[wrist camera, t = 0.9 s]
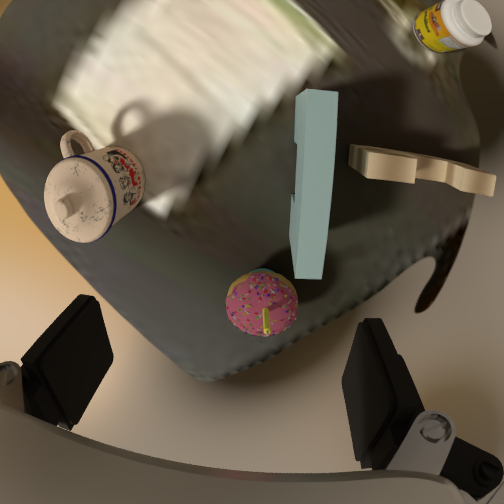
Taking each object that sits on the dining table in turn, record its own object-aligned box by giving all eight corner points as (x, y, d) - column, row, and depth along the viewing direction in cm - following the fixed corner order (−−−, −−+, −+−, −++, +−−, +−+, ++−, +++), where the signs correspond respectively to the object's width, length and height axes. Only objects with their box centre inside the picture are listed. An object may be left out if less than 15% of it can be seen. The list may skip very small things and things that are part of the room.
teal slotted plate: (295, 96, 29) (306, 88, 20) (318, 98, 29) (338, 92, 20) (289, 235, 36) (295, 278, 27) (309, 236, 36) (321, 279, 27)
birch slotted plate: (348, 164, 32) (366, 178, 26) (349, 144, 31) (369, 152, 25) (461, 180, 31) (492, 196, 25) (463, 162, 30) (496, 175, 24)
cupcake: (241, 246, 37) (229, 303, 26) (307, 266, 38) (319, 329, 27) (222, 301, 41) (207, 366, 30) (282, 318, 41) (284, 385, 31)
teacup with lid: (159, 199, 35) (116, 238, 24) (103, 224, 37) (54, 266, 26) (122, 110, 30) (63, 114, 20) (68, 143, 32) (6, 162, 22)
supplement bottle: (414, 5, 22) (456, -19, 13) (451, 27, 23) (499, 12, 13) (406, 40, 25) (451, 22, 15) (445, 61, 25) (495, 54, 16)
